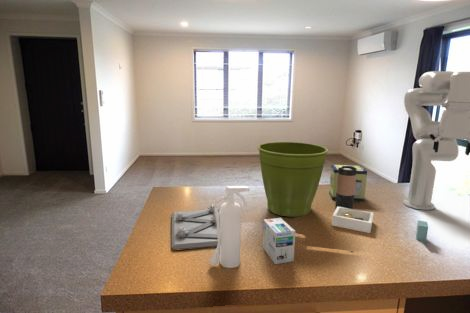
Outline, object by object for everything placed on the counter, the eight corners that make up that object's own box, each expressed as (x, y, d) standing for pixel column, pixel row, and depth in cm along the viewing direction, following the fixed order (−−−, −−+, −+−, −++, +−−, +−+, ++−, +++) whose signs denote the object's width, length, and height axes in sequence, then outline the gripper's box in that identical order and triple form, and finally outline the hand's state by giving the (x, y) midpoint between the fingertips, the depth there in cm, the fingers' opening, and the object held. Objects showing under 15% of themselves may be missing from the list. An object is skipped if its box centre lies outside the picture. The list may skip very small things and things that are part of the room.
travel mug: (354, 215, 133) (358, 170, 129) (335, 213, 134) (339, 169, 130) (351, 208, 140) (355, 166, 136) (333, 207, 142) (337, 165, 137)
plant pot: (294, 230, 118) (299, 158, 112) (242, 207, 140) (243, 146, 134) (336, 211, 137) (341, 148, 131) (284, 193, 159) (287, 139, 153)
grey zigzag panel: (171, 216, 131) (171, 201, 130) (221, 213, 135) (221, 197, 134) (171, 252, 103) (170, 233, 101) (234, 247, 107) (234, 228, 105)
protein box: (328, 192, 162) (330, 164, 158) (359, 194, 159) (362, 165, 156) (331, 199, 151) (334, 169, 148) (364, 201, 149) (368, 170, 146)
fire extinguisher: (204, 260, 97) (207, 185, 91) (240, 254, 102) (244, 182, 96) (211, 272, 91) (214, 192, 85) (248, 265, 96) (253, 189, 90)
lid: (379, 226, 124) (381, 210, 122) (424, 235, 116) (426, 218, 115) (377, 238, 113) (379, 221, 112) (426, 249, 106) (428, 231, 105)
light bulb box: (294, 261, 97) (296, 230, 95) (274, 265, 95) (276, 233, 93) (280, 245, 107) (281, 216, 105) (262, 248, 105) (263, 218, 103)
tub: (336, 217, 131) (337, 206, 130) (372, 224, 124) (373, 212, 123) (331, 227, 121) (332, 215, 120) (369, 235, 115) (371, 223, 114)
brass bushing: (344, 219, 127) (345, 212, 126) (352, 220, 125) (352, 213, 125) (343, 221, 124) (343, 214, 123) (351, 223, 123) (351, 216, 122)
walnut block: (353, 224, 122) (354, 217, 121) (362, 225, 121) (362, 218, 120) (355, 227, 119) (355, 220, 118) (363, 228, 118) (364, 221, 118)
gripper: (431, 106, 112) (424, 152, 116) (491, 108, 104) (482, 157, 108) (430, 105, 118) (423, 149, 122) (486, 107, 111) (477, 153, 114)
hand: (451, 153), depth 115 cm, fingers open, 9 cm apart
